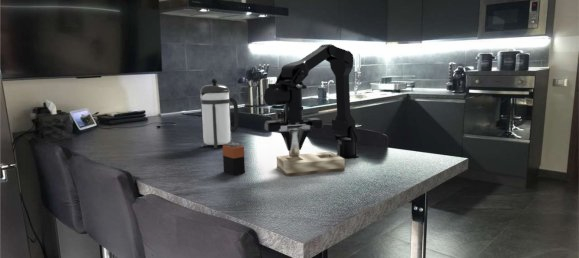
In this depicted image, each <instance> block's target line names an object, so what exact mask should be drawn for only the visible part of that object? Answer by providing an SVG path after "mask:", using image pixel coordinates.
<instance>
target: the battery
mask: <svg viewBox="0 0 579 258" xmlns="http://www.w3.org/2000/svg"><path fill="white" fill-rule="evenodd" d="M222 163H223V172H225V173H227V174H231V175H234V176H238V175H241V174H245V172H246V168H245V167H246V166H245V147H244V146H243V145H241V144H240V143H239V142H234V143H233V142H232V141H230V142H229V143H227V144H222Z"/></svg>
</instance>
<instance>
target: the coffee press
mask: <svg viewBox="0 0 579 258" xmlns="http://www.w3.org/2000/svg"><path fill="white" fill-rule="evenodd" d="M217 82H218V80H217V79H216V78H212V80H211V83H212V84H206V85H203V86H201V88H200V90H199V93H200V95H199V96H200V108H201V109H200V110H201V112H200V113H201V128H202V129H201V130H202V132H201V133H202V142H201V143H200V147H204V145H209V146H213V149H214V150H218V146H220V145H222V146H223V145H227V144H228V143H229V142H232V144H233V143H235V142H234V141H233V139H232V133H235V132H236V131H237V130H238V127H239V121H240V120H239V107H238V102H237V100H236V99H235V98H233V97H230V92H231V91H230V89H229V87H228V86H227V85H226V84H217ZM231 103H232V106H233V115H234V116H233V118H234V120H233V121H234V124H233V126H231V123H232V120H231V119H232V118H231ZM202 143H204V145H202Z"/></svg>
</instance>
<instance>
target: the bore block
mask: <svg viewBox="0 0 579 258" xmlns="http://www.w3.org/2000/svg"><path fill="white" fill-rule="evenodd" d="M345 159H346V158H342V157H340V156H338V155H337V153H334V152H333V151H324V152H323V151H322V152H314V153H313V152H312V153H302V154H301V153H300V156H299V157H289V154H287V155H277V156H276V168H277V169H278V170H279V171H280V172H281V173H282V174H283V175H285V176H286V177H295V176H305V175H313V174H323V173H332V172H333V173H334V172H344V171H345V169H346V168H345V167H346V166H345V162H346V161H345Z"/></svg>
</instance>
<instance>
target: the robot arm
mask: <svg viewBox="0 0 579 258" xmlns="http://www.w3.org/2000/svg"><path fill="white" fill-rule="evenodd" d="M324 61H326V62H328V63H329V66H330V70H331V71H332V73H333V75H334V77H335V101H336V115H335V117H334V119H331V131H332V133H333V136H334V139H335V141H338V144H337V146H336V147H337V149H336V150H337V151H336V152H337V153H336V155H338V156H340V157H342V158H344V159H350V158H359V155H358V153H357V151H358V148H357V147H358V143H359V142H360V141H361V138H362V134H361V133H360V132H359V131H358V129H357V127H356V121H355V119H354V117H353V116H352V114H351V98H350V97H351V95H350V93H351V91H350V74H351V72H352V70H353V67H354V54H353V53H352V52H351V51H350V50H346V49H344V48H341V47H337V46H335V45H334V44H332V43H329V44H327V43H326V44H321V45H320V46H319V47H317V48H316V49H315V50H313V51H312V52H310V53H308V54H307V55H306V56H304V57H303V58H301V59H300V60H299V59H298V60H296V61H292V62H290V63H287V64H285V65H282V67H281V68H280V69H281V71H280V73H279V75H278V77H277V79H276V81H275V83H268V84H267V88H266V89H265V91H264V92H263V93H264V94H263V100H264V102H265V104H266V105H267V106H268V107H269V106H270V107H272V106H273V107H274V106H282V105H284V106H283V110H282V109H276V110H275V119H274V120H266V121H265V122H264V130H265V131H267V132H278V133H279V134H280V135H281V136H282V138H283V142H284V144H285V146H286V149H287V151H288V152H289V151H290V133H289V129H291V128H297V129H299V150H300V151H301V150H302V148H303V145H304V143H305V140H306V138H307V136H308V135H309V133H310V132H312V131H313V129H323V128H324V122H323V120H322V119H321V118H318V117H311V118H310V117H307V118H306V120H304V119H303V111H304V106H303V90H305V89H307V87H308V86H307V85H305V84H304V83H303V81H304V80H305V79H306V78H307V77H308V76H309V72H311V70H312V69H314V68H315V67H317V66H319V65H320V64H321V63H323V62H324ZM311 127H313V129H312V128H311Z"/></svg>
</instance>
